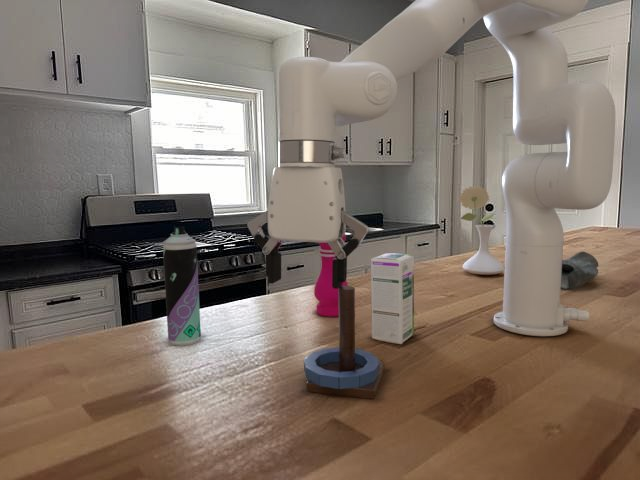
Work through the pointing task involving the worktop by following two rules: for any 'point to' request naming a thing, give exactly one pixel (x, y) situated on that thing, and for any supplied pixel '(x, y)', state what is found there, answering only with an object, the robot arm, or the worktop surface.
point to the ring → (341, 378)
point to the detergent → (578, 270)
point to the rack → (347, 351)
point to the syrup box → (392, 297)
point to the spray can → (181, 288)
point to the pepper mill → (327, 284)
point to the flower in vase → (480, 234)
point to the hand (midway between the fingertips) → (305, 283)
